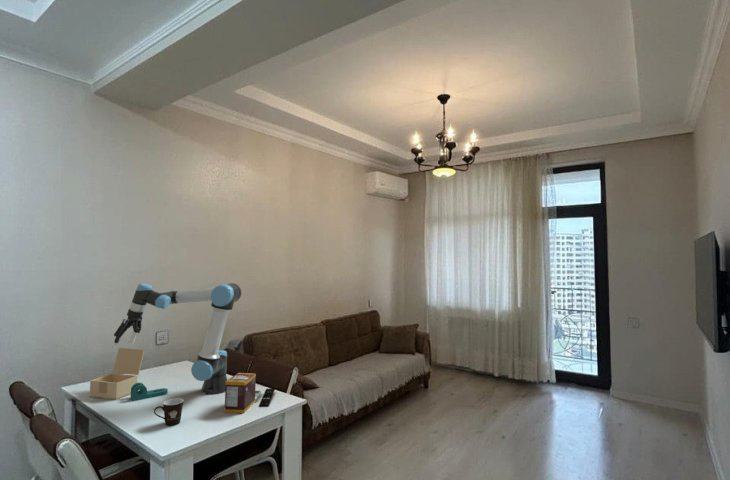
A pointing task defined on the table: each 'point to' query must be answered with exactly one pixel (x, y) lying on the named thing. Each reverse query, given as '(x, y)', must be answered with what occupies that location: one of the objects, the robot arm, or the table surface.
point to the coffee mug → (171, 411)
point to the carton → (112, 386)
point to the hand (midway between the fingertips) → (123, 345)
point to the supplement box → (240, 392)
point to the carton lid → (128, 361)
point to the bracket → (145, 392)
